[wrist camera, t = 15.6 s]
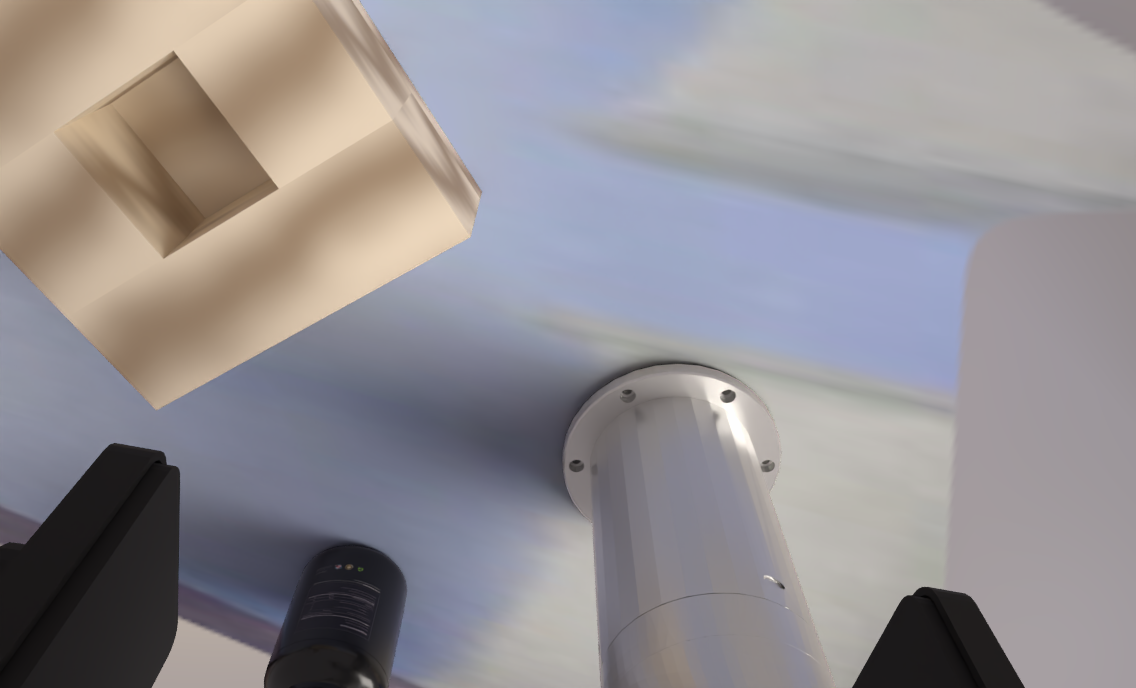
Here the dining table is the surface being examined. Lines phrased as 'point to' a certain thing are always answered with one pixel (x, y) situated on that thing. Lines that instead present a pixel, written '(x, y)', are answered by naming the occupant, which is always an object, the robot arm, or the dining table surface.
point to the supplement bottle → (341, 623)
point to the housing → (213, 173)
